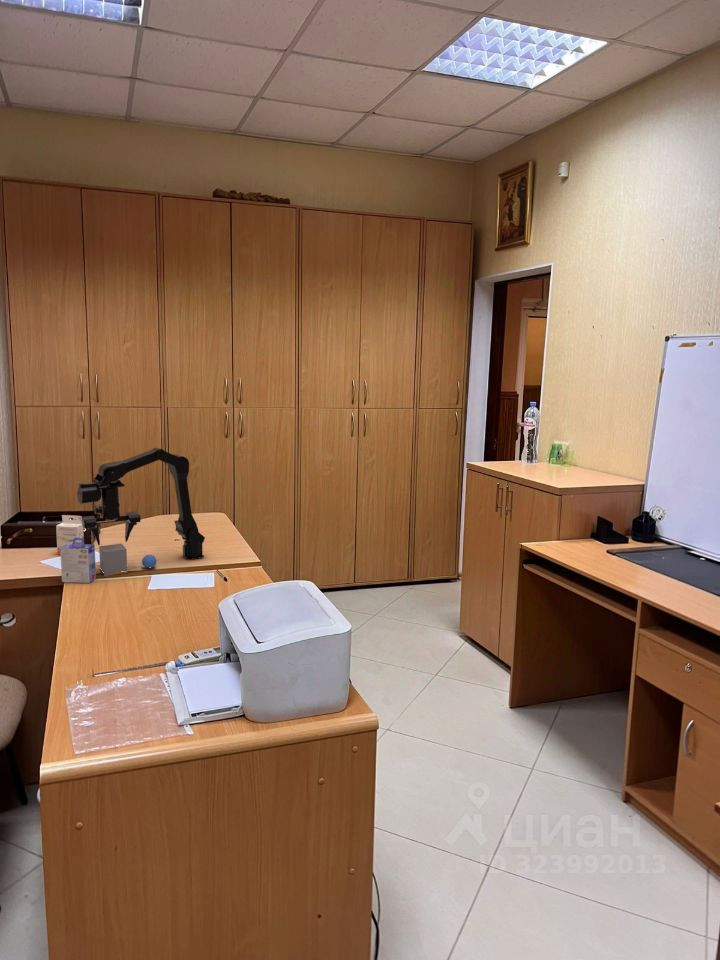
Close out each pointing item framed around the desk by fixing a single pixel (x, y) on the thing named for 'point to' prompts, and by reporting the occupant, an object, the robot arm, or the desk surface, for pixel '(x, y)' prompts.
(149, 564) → the ball
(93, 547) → the ink cartridge box
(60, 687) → the desk surface
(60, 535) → the ink cartridge box
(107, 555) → the matte gray cube
